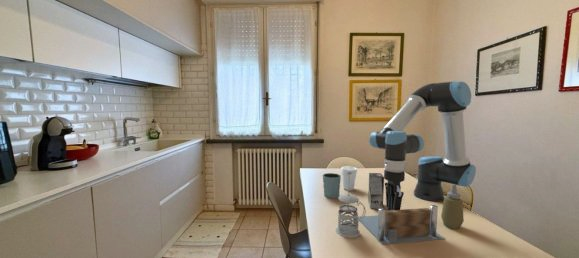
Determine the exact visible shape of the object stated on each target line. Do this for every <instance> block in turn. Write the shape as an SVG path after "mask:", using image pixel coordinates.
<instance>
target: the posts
mask: <svg viewBox="0 0 579 258" xmlns="http://www.w3.org/2000/svg"><path fill="white" fill-rule="evenodd" d="M430 209H431V215H430V234H429V235H430V236H434V237H435V236H436V232H437V230H438V229H437V228H438V227H437V226H438V209H439V207H438V205H435V204H431V205H430ZM377 210H378V213H377V214H378V237H377V238H376V239H377V241H378V242H380V241H384V232H385V215H386V214H385V211H386V209H385V208H384V207H383V208H379V209H377ZM388 242H389V243H390V242H397V229H396V228H391V229H388Z"/></svg>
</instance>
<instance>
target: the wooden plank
mask: <svg viewBox="0 0 579 258" xmlns="http://www.w3.org/2000/svg"><path fill="white" fill-rule="evenodd" d="M430 215H431V208H429V207H423V208H421V207H420V208H407V209H406V208H404V209H400V210H388V209H387V210H385V237H386V238H388V229H391V228H396V229H397V238H399V237H411V236H424V235H429V234H430Z"/></svg>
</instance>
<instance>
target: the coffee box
mask: <svg viewBox="0 0 579 258" xmlns="http://www.w3.org/2000/svg"><path fill="white" fill-rule="evenodd" d="M384 191H385V179H384V174H382V173H380V172H377V173H376V172H369V173H368V205H369V209H377V210H378V209H379V208H383V209H384Z"/></svg>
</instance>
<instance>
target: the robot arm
mask: <svg viewBox="0 0 579 258" xmlns="http://www.w3.org/2000/svg"><path fill="white" fill-rule="evenodd" d="M471 102H472V92H471V88H470V86H469V85H468V83H466V82H465V81H461V80H460V81H456V80H454V81H446V82H445V81H444V82H433V83H427V84H425V85H422V86H421V87H419V88H418V89H416V90H414V92H412V93H411V94H410V95H409V96H408V97H407V99H406V103H405V104H403V106H402V107H401V108H400V109H399V110H398V111H397V112H396V114H395V115H394V116H393V117H392V118H390V120H389V121H388V122H387V123H386V125H385V126H383V127H382V128H381V130H379V131H373V132H371V134H370V135H369V139H368V141H369V142H368V143H369V145H370V146H371V147H373V148H376V149H382V150H385V152H384V161H383V164H384V172H383V177H384V180H385V181H387V182H384V189H385V202H386V203H385V204H386V207H387V211H388V210H401V207H402V201H403V197H404V193H405V192H404V191H401V188H402V186H401V183H402V182H404V181H405V180H406V179H405V178H406V177H405V175H406V172H405V170H406V154H413V153H417V152H421V151H422V150H423V149H424V146H425V141H424V139H423V137H422V136H421V135H419V134H415V133H412V134H407V132H406V131H404V130H405V129H406V128H407V126H408V125H410V123H411V122H412V121H413V120H414V118H416V116H417V115H418V114H419V113H420V112H422V111H424V110H425V109H426V108H429V107H437V111H438V112H439V113H440V114H441V116H442V117H441V118H442V129H443V142H444V149H445V151H444V153H445V157H444V158H443V157H442V156H434V155H432V156H431V155H430V156H429V155H428V156H422V157H420V158H419V159H418V164H417V166H418V167H417V170H418V171H417V173H418V174H417V182H416V185H415V188H414V190H413V195H414V197H416V198H419V199H421V200H425V201H431V202H440V201H441V202H442V201H444V198H445V193H444V189H443V187H442V182H443V183H447V184H451V185H456V186H461V187H465V188H466V187H470V186H471V184H473V182H474V180H475V177H476V172H477V168H476V165H474V164H471V160H470V158H468V157H467V151H466V138H465V125H464V111H466V110H467V107H468V106H469V105H471Z"/></svg>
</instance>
